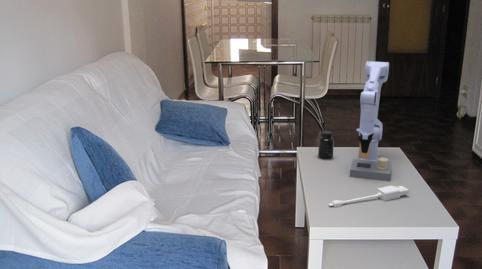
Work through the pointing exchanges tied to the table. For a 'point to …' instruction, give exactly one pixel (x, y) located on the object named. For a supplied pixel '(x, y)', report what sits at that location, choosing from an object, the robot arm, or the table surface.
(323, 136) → the supplement bottle
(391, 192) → the charging cable
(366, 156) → the brown wooden block
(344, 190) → the table surface
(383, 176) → the board with square hole
